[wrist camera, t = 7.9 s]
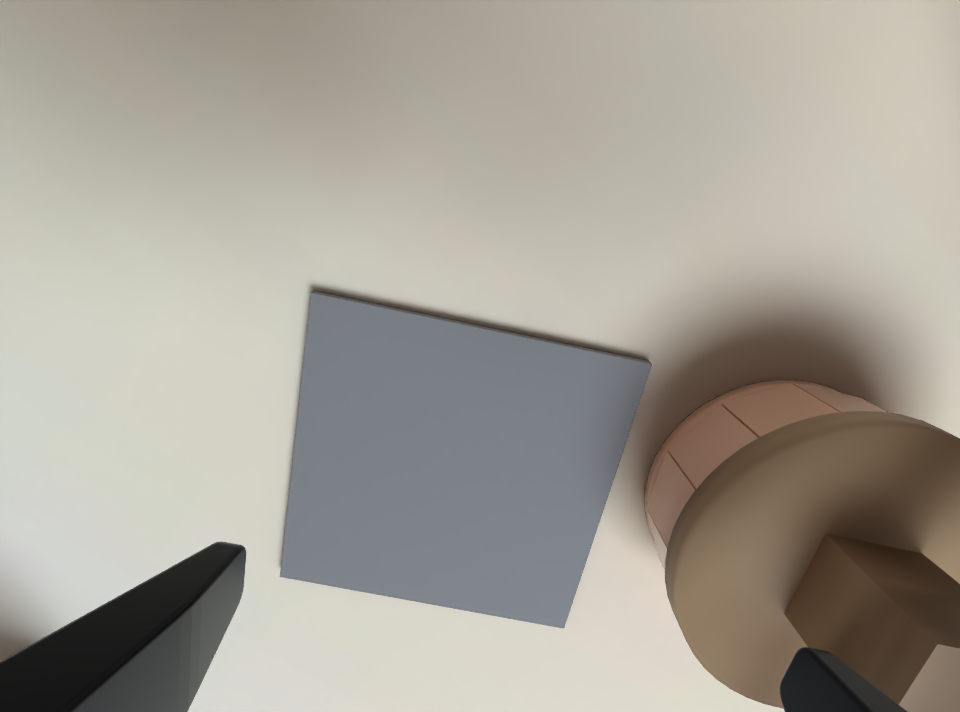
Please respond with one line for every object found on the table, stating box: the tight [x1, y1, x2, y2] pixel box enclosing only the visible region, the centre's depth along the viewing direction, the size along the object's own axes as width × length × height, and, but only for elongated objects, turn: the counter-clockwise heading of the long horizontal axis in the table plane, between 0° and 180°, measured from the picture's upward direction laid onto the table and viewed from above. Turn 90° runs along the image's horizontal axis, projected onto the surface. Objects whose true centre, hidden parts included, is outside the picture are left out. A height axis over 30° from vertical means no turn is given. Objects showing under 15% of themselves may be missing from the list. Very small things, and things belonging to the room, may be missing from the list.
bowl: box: [645, 380, 888, 569], centre depth 19 cm, size 10×10×4 cm
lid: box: [665, 411, 960, 712], centre depth 14 cm, size 11×11×5 cm
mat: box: [280, 291, 652, 628], centre depth 21 cm, size 13×13×1 cm
